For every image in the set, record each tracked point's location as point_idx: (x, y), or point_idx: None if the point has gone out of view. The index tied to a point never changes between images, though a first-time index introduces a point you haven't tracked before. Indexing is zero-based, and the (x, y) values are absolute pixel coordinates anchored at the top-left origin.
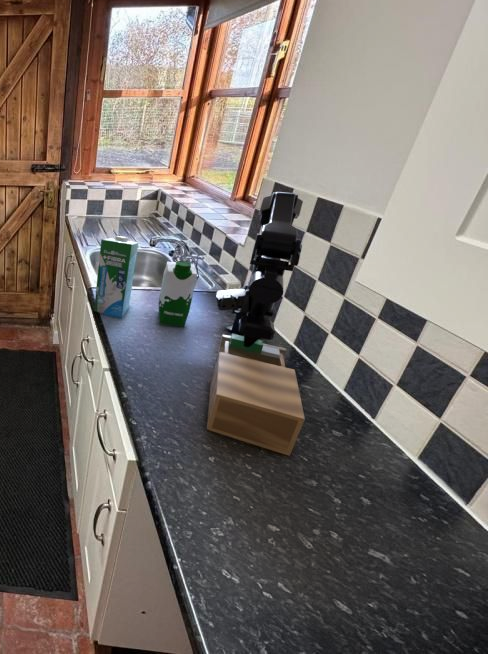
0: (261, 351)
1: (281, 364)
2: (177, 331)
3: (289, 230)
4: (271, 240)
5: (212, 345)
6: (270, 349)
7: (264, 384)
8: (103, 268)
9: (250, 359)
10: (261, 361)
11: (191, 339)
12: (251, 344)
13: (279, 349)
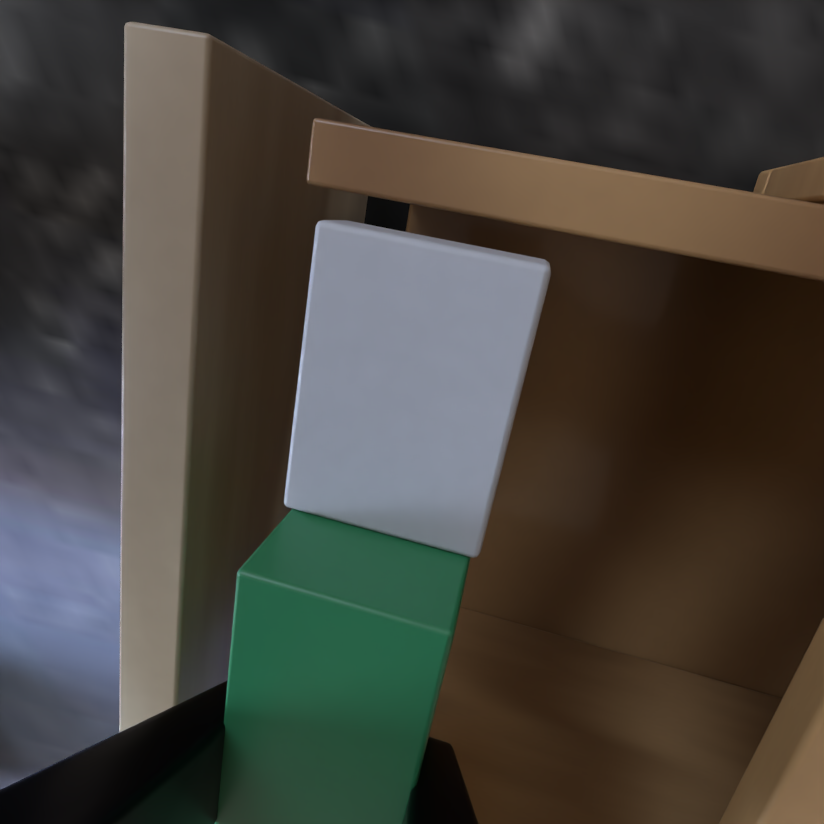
0: (474, 549)
1: (712, 249)
2: (12, 690)
3: None
4: None
5: (76, 519)
6: (385, 397)
7: None
8: None
9: (797, 800)
10: None
11: (65, 633)
12: (469, 813)
13: (207, 153)
